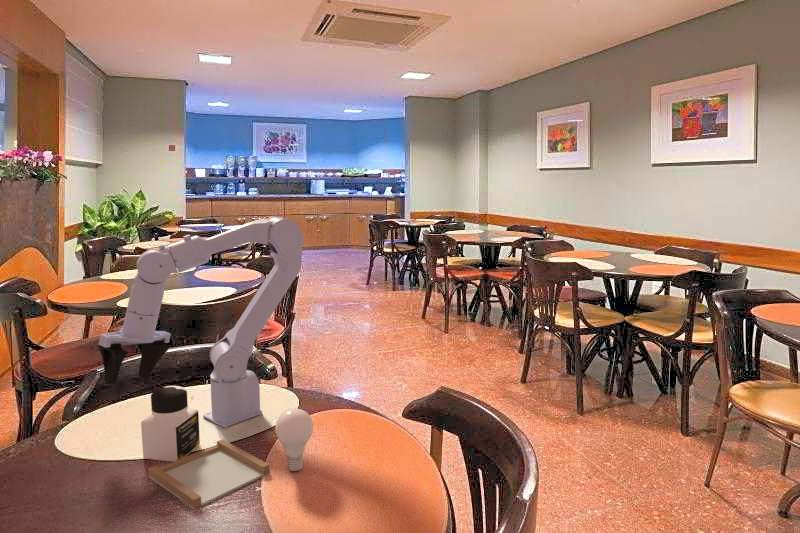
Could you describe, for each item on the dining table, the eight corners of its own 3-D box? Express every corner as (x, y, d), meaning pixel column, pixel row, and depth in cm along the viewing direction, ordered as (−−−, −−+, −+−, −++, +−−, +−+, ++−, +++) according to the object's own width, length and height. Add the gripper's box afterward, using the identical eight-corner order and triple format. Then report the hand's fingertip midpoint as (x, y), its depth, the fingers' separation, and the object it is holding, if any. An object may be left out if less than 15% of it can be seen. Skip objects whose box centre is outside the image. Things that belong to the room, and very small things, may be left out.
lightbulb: (320, 464, 98) (319, 405, 96) (302, 483, 92) (301, 420, 91) (288, 458, 100) (287, 400, 98) (269, 475, 94) (267, 414, 93)
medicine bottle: (178, 463, 98) (175, 398, 96) (142, 459, 99) (138, 395, 97) (200, 444, 105) (197, 384, 103) (166, 440, 106) (163, 380, 104)
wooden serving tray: (222, 447, 104) (222, 439, 104) (269, 473, 95) (269, 464, 95) (149, 477, 93) (148, 468, 93) (194, 509, 84) (193, 500, 84)
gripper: (158, 306, 115) (143, 369, 116) (95, 306, 102) (78, 377, 102) (183, 315, 112) (167, 380, 113) (121, 317, 99) (103, 390, 100)
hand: (127, 379), depth 107 cm, fingers open, 7 cm apart
